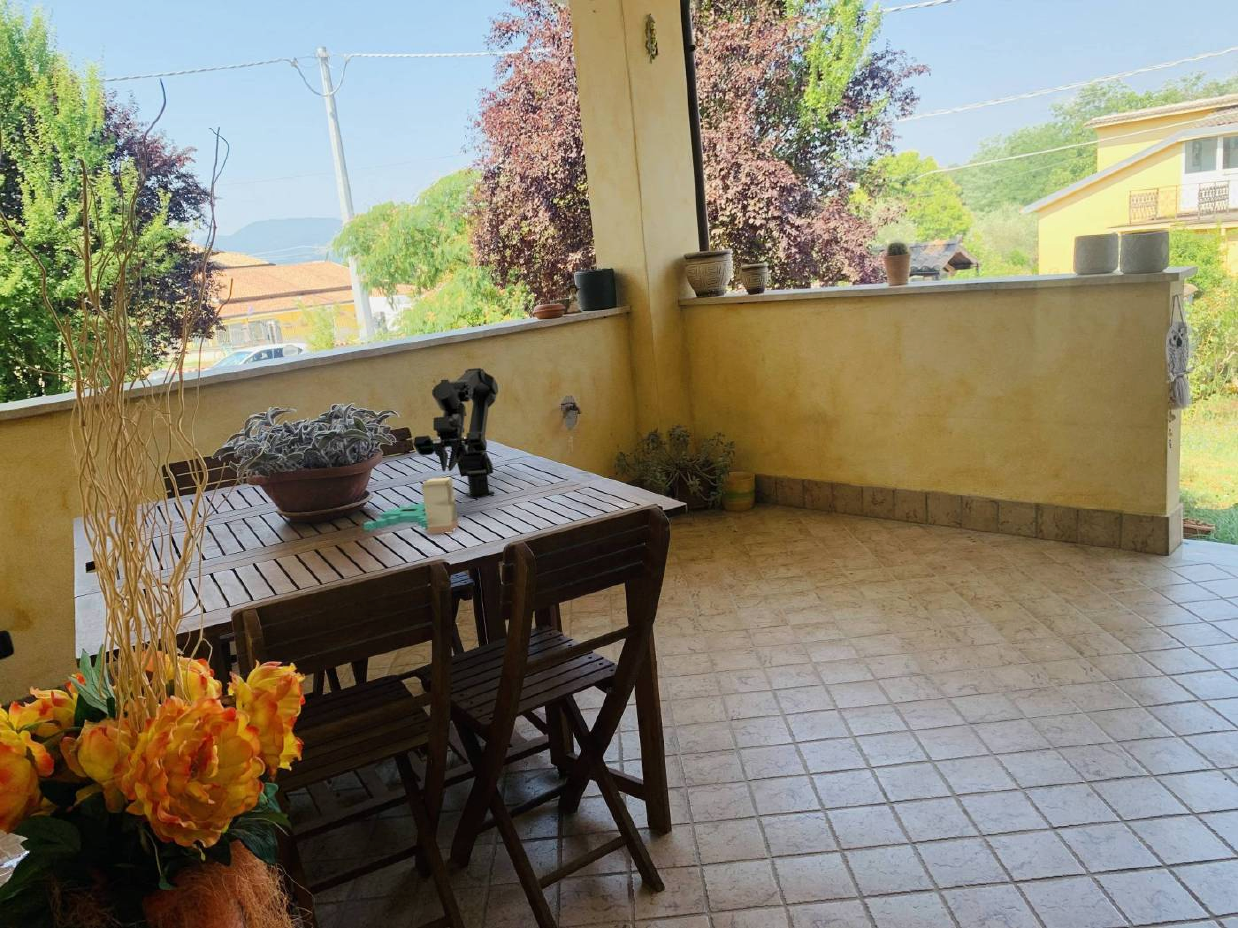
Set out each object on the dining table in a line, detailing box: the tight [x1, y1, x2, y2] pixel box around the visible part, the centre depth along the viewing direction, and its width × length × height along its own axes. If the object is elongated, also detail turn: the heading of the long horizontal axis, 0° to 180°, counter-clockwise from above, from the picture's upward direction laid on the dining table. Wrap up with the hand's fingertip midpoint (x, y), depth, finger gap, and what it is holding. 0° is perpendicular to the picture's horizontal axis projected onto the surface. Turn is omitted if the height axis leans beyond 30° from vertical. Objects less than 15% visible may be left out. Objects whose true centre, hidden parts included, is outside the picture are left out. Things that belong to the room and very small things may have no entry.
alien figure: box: [363, 501, 428, 531], centre depth 247 cm, size 20×2×20 cm
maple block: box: [421, 477, 459, 535], centre depth 232 cm, size 6×6×13 cm
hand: (446, 470), depth 239 cm, fingers closed
